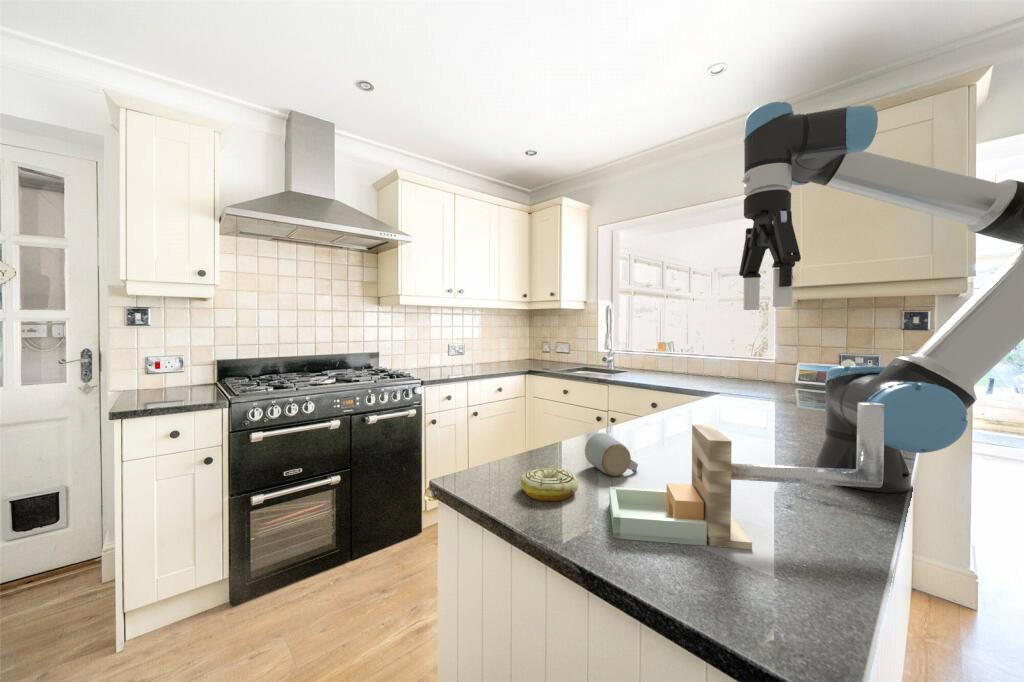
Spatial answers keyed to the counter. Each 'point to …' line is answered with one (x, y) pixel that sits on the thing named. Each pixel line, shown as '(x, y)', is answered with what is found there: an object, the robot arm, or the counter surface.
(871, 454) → the grey l-shaped bar
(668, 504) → the block
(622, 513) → the tray
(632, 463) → the ceramic mug
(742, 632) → the counter surface
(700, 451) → the bracket
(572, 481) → the decorated donut
